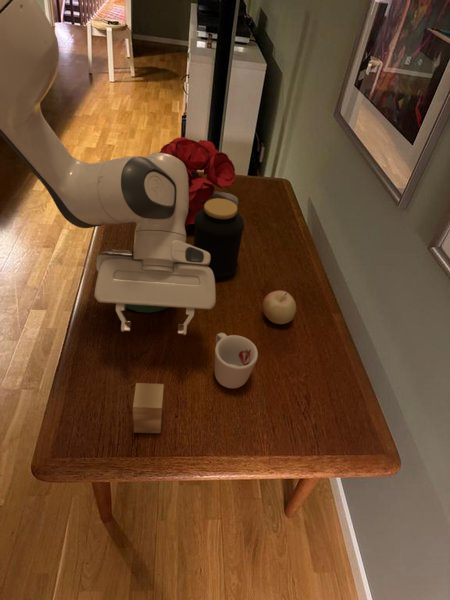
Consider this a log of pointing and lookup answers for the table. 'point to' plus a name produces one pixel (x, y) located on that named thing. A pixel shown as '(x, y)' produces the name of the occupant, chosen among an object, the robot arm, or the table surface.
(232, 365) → the cup
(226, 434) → the table surface
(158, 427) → the plain beige block
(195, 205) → the bouquet
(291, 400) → the table surface
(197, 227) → the container
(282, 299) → the fruit
